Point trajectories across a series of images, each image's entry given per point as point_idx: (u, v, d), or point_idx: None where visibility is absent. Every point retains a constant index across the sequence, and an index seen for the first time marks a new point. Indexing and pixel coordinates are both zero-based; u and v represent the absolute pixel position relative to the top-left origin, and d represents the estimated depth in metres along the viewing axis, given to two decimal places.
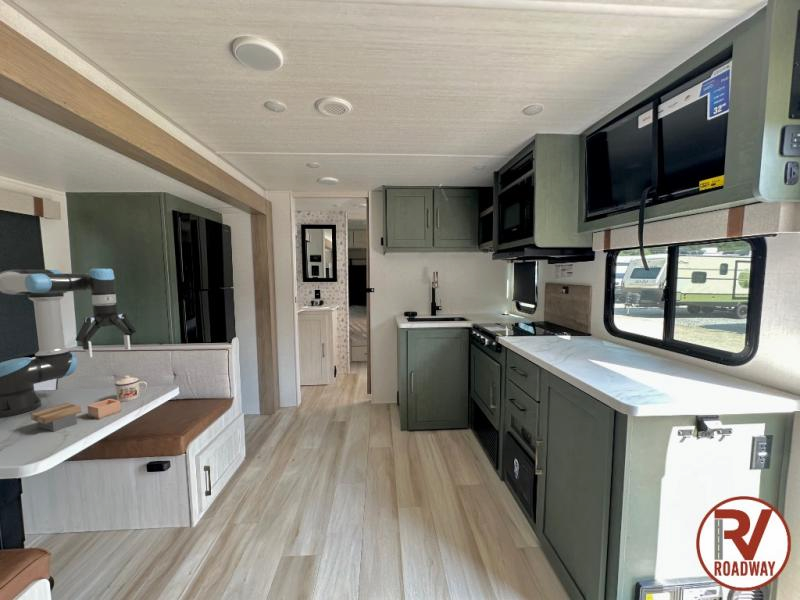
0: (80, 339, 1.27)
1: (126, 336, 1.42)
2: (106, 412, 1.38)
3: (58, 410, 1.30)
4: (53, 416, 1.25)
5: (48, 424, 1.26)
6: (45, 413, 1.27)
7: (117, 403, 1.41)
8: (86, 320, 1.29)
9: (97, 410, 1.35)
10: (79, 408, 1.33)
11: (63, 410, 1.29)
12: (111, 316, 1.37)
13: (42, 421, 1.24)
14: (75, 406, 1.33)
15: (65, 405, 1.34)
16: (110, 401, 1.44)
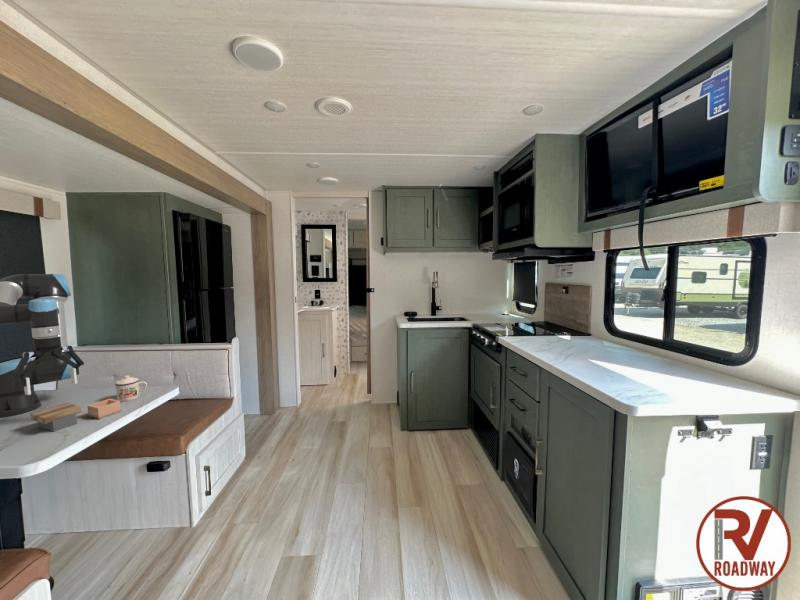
0: (16, 376, 1.19)
1: (72, 369, 1.34)
2: (106, 412, 1.38)
3: (58, 410, 1.30)
4: (53, 416, 1.25)
5: (48, 424, 1.26)
6: (45, 413, 1.27)
7: (117, 403, 1.41)
8: (24, 355, 1.21)
9: (97, 410, 1.35)
10: (79, 408, 1.33)
11: (63, 410, 1.29)
12: (54, 349, 1.29)
13: (42, 421, 1.24)
14: (75, 406, 1.33)
15: (65, 405, 1.34)
16: (110, 401, 1.44)
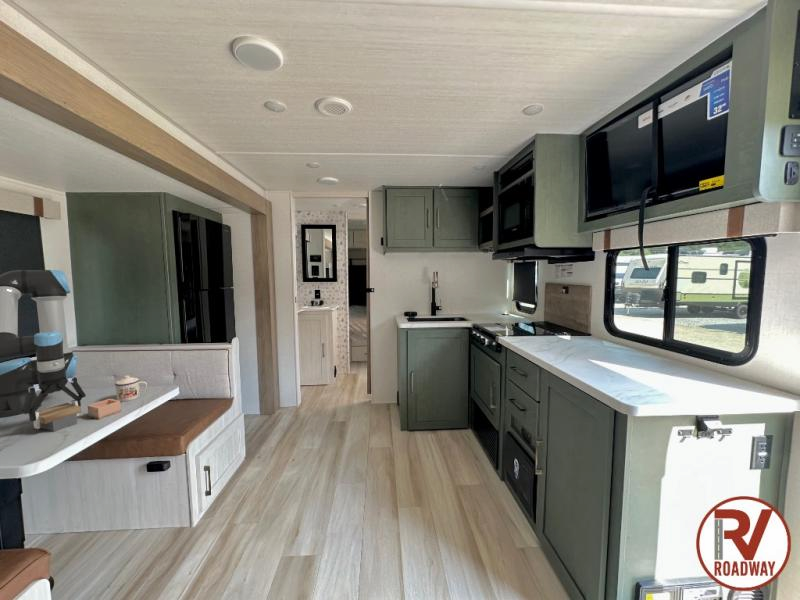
0: (26, 411, 1.21)
1: (74, 402, 1.35)
2: (106, 412, 1.38)
3: (58, 410, 1.30)
4: (53, 416, 1.25)
5: (48, 424, 1.26)
6: (45, 413, 1.27)
7: (117, 403, 1.41)
8: (29, 390, 1.23)
9: (97, 410, 1.35)
10: (79, 408, 1.33)
11: (63, 410, 1.29)
12: (59, 381, 1.30)
13: (42, 421, 1.24)
14: (75, 406, 1.33)
15: (65, 405, 1.34)
16: (110, 401, 1.44)
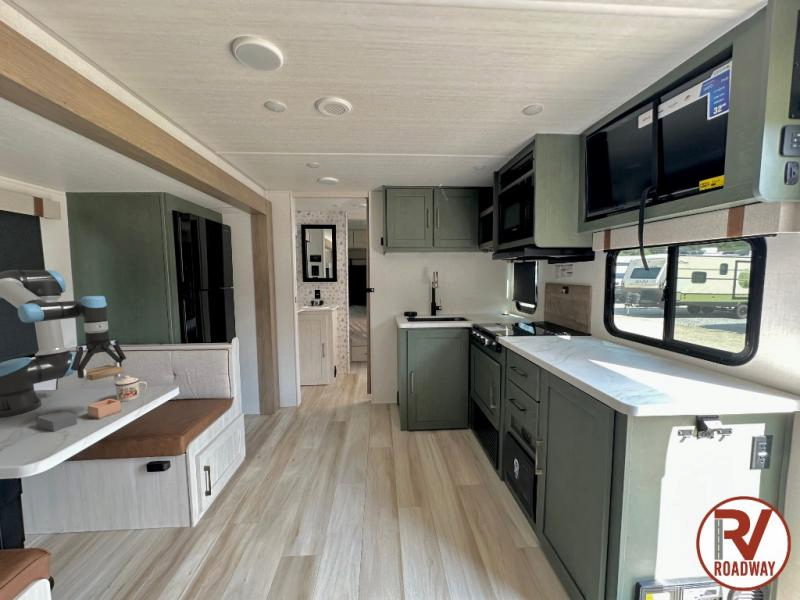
0: (75, 368, 1.30)
1: (116, 363, 1.43)
2: (106, 412, 1.38)
3: (103, 369, 1.38)
4: (99, 374, 1.34)
5: (48, 424, 1.26)
6: (91, 371, 1.36)
7: (117, 403, 1.41)
8: (78, 349, 1.31)
9: (97, 410, 1.35)
10: (121, 369, 1.41)
11: (107, 370, 1.38)
12: (103, 342, 1.38)
13: (90, 378, 1.32)
14: (117, 367, 1.42)
15: (108, 366, 1.43)
16: (110, 401, 1.44)
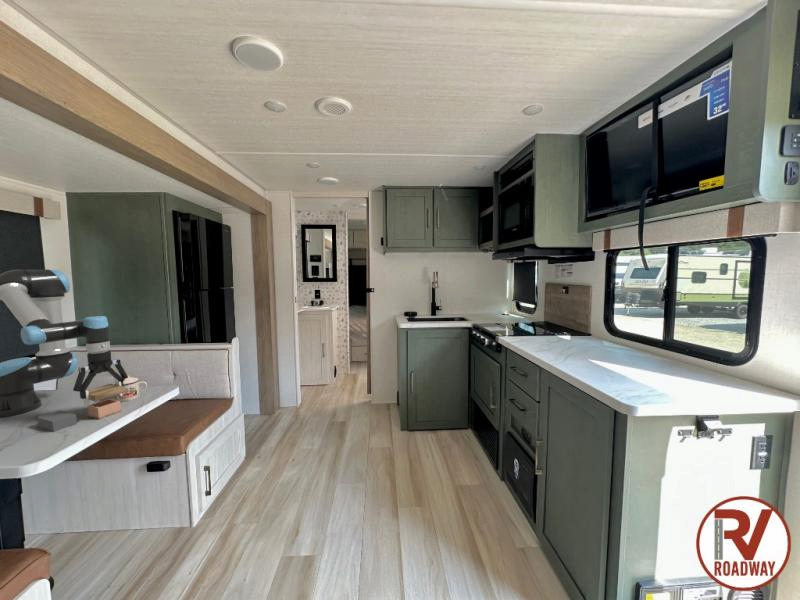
0: (77, 389, 1.31)
1: (118, 382, 1.44)
2: (106, 412, 1.38)
3: (105, 389, 1.39)
4: (101, 394, 1.35)
5: (48, 424, 1.26)
6: (93, 391, 1.36)
7: (117, 403, 1.41)
8: (80, 370, 1.32)
9: (97, 410, 1.35)
10: (123, 388, 1.42)
11: (109, 389, 1.39)
12: (105, 362, 1.39)
13: (92, 399, 1.33)
14: (119, 386, 1.43)
15: (110, 385, 1.44)
16: (110, 401, 1.44)
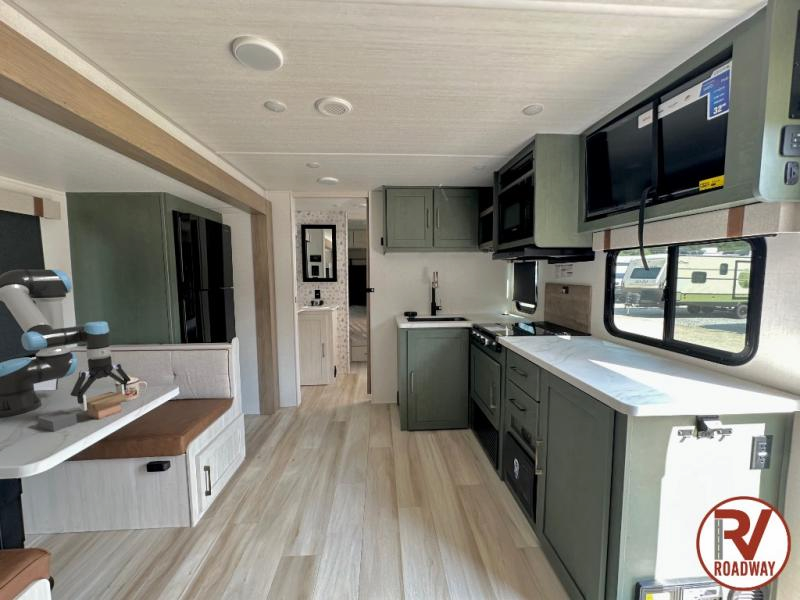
0: (75, 394, 1.30)
1: (120, 385, 1.45)
2: (106, 412, 1.38)
3: (105, 397, 1.40)
4: (102, 403, 1.35)
5: (48, 424, 1.26)
6: (94, 400, 1.37)
7: (117, 403, 1.41)
8: (81, 375, 1.32)
9: (97, 410, 1.35)
10: (124, 397, 1.42)
11: (110, 398, 1.39)
12: (106, 368, 1.39)
13: (93, 407, 1.33)
14: (120, 394, 1.43)
15: (111, 394, 1.44)
16: None
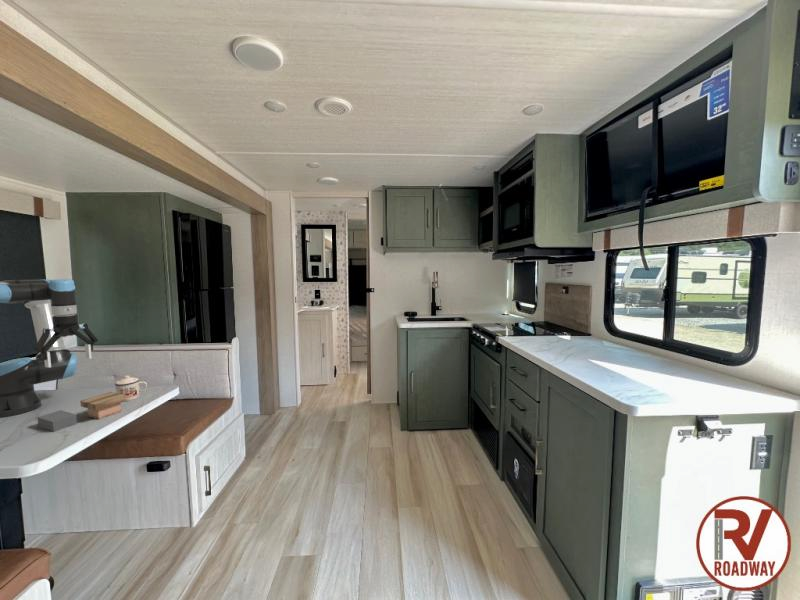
0: (38, 350, 1.29)
1: (87, 345, 1.44)
2: (106, 412, 1.38)
3: (105, 397, 1.40)
4: (102, 403, 1.35)
5: (48, 424, 1.26)
6: (94, 400, 1.37)
7: (117, 403, 1.41)
8: (45, 331, 1.31)
9: (97, 410, 1.35)
10: (124, 397, 1.42)
11: (110, 398, 1.39)
12: (71, 326, 1.38)
13: (93, 407, 1.33)
14: (120, 394, 1.43)
15: (111, 394, 1.44)
16: None
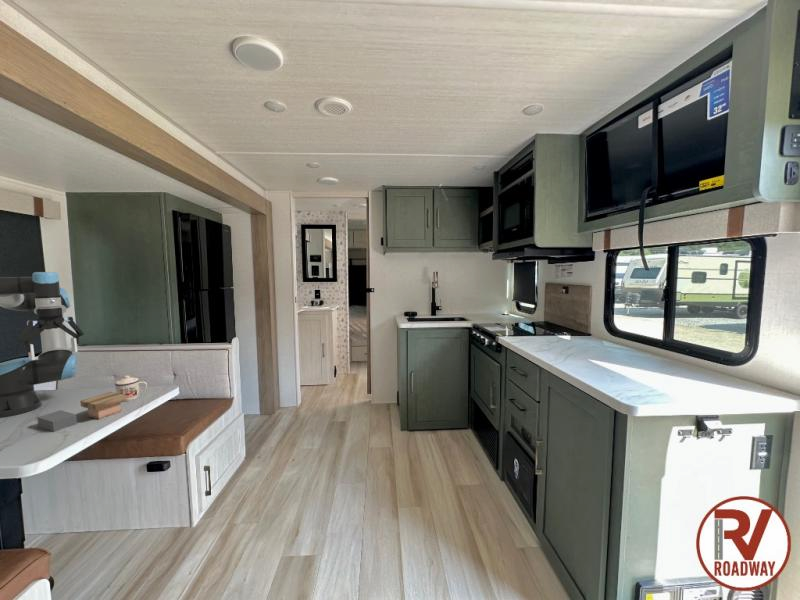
0: (21, 342, 1.28)
1: (73, 339, 1.44)
2: (106, 412, 1.38)
3: (105, 397, 1.40)
4: (102, 403, 1.35)
5: (48, 424, 1.26)
6: (94, 400, 1.37)
7: (117, 403, 1.41)
8: (28, 323, 1.31)
9: (97, 410, 1.35)
10: (124, 397, 1.42)
11: (110, 398, 1.39)
12: (56, 319, 1.38)
13: (93, 407, 1.33)
14: (120, 394, 1.43)
15: (111, 394, 1.44)
16: None
